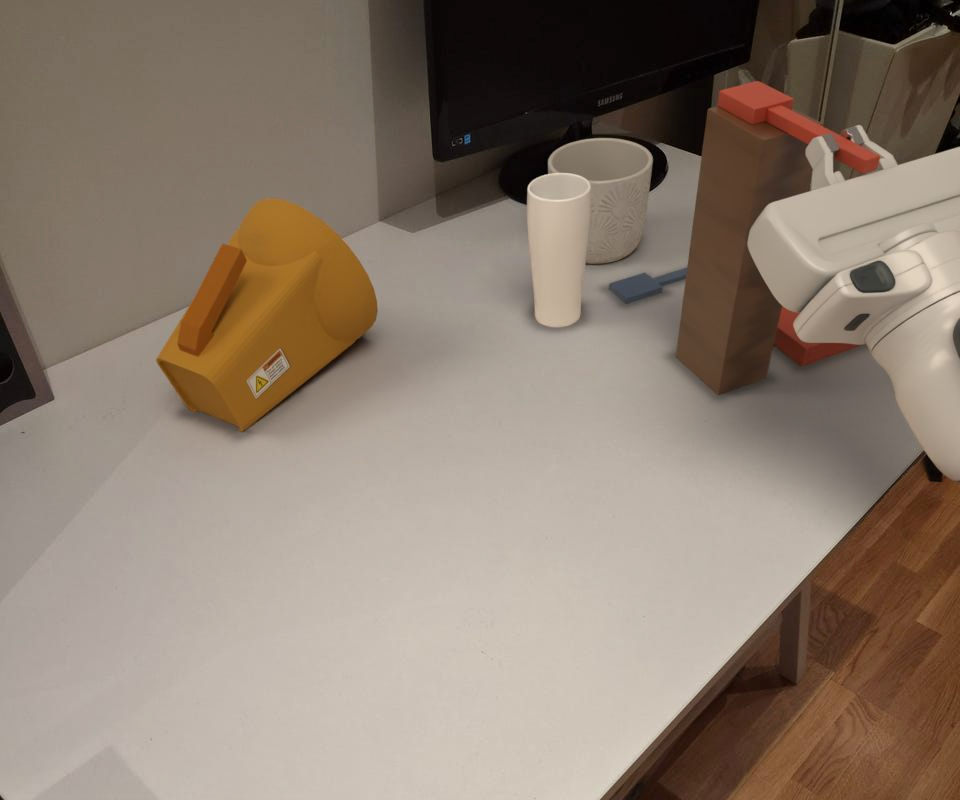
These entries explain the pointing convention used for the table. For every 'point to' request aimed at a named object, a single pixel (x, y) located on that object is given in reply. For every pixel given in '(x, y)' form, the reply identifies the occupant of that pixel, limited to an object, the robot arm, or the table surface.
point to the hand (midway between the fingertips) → (831, 136)
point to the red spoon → (790, 121)
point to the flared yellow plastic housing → (268, 315)
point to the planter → (610, 192)
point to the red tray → (803, 350)
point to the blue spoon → (644, 285)
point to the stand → (735, 249)
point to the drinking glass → (558, 245)
